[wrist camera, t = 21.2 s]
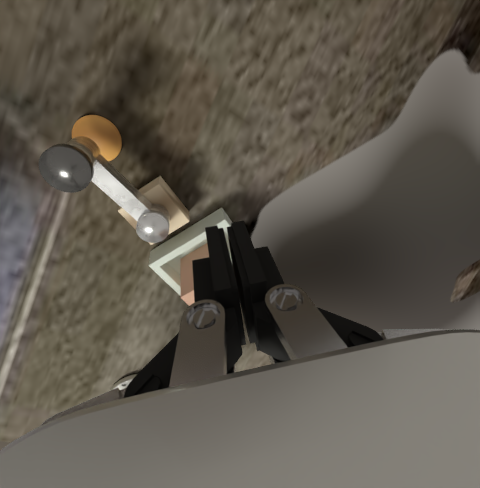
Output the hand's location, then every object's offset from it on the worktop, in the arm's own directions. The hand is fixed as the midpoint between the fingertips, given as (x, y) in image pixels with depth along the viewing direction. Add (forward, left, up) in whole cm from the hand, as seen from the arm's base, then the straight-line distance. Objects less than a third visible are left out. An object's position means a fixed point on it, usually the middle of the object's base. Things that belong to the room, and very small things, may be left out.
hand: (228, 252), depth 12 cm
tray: (-15, +9, -25) cm, 31 cm away
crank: (0, +10, -22) cm, 24 cm away
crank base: (0, +10, -25) cm, 27 cm away
